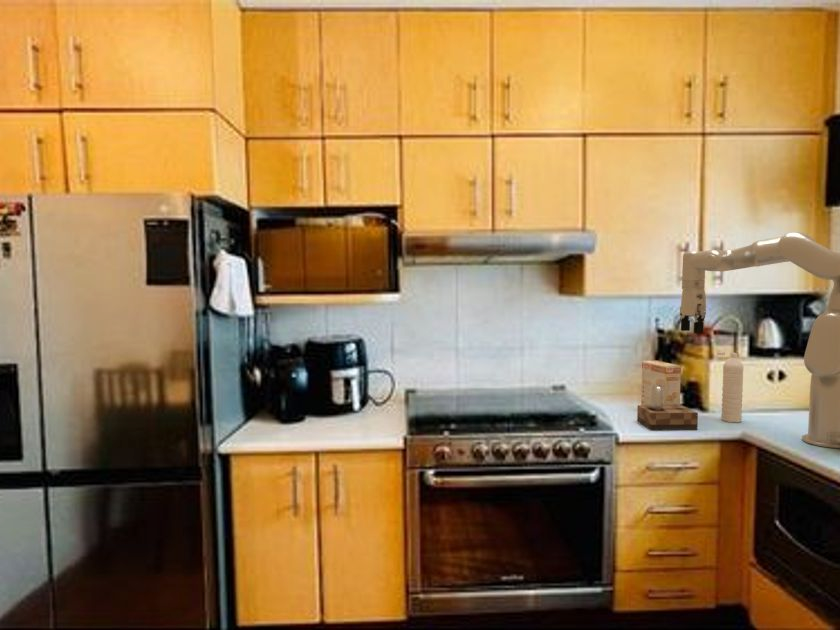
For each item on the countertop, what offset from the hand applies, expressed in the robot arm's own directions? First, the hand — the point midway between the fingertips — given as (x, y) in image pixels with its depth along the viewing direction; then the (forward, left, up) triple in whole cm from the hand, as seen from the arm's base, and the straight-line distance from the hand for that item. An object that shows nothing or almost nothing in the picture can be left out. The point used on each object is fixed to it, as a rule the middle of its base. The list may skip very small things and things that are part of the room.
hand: (691, 331), depth 211 cm
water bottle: (-3, -13, -32) cm, 35 cm away
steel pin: (-10, +17, -30) cm, 36 cm away
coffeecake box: (+9, +7, -33) cm, 35 cm away
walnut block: (-10, +13, -32) cm, 36 cm away
